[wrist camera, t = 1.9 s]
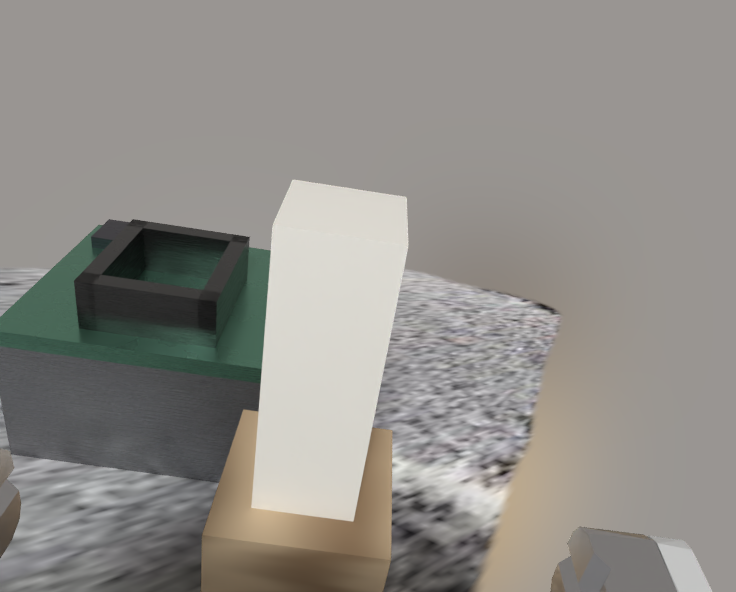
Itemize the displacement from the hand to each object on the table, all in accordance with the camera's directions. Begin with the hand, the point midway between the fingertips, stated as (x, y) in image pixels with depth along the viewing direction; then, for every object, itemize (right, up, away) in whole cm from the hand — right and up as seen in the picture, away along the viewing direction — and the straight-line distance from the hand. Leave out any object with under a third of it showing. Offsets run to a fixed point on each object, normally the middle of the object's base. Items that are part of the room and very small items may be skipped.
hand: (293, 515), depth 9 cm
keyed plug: (-1, -4, +17) cm, 17 cm away
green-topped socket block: (-12, -4, +34) cm, 37 cm away
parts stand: (-3, -13, +22) cm, 25 cm away
